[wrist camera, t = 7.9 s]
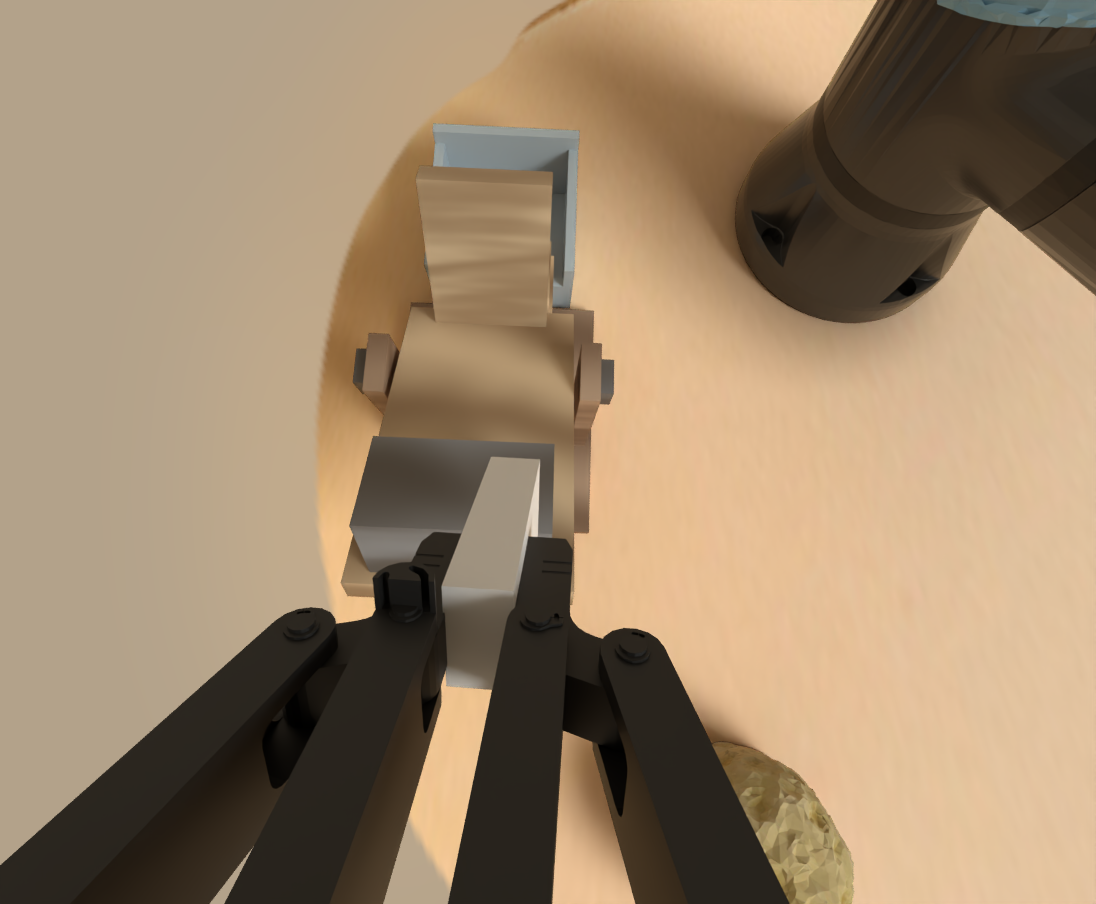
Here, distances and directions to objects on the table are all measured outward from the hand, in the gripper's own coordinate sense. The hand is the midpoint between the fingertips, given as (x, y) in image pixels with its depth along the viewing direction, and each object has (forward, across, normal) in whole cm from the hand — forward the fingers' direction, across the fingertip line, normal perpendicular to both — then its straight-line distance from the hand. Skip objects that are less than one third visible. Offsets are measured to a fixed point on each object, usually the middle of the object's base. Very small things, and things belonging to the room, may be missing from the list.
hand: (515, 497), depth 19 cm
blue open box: (+28, -4, +5) cm, 29 cm away
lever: (+13, -3, -1) cm, 13 cm away
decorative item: (+8, +12, -25) cm, 29 cm away
